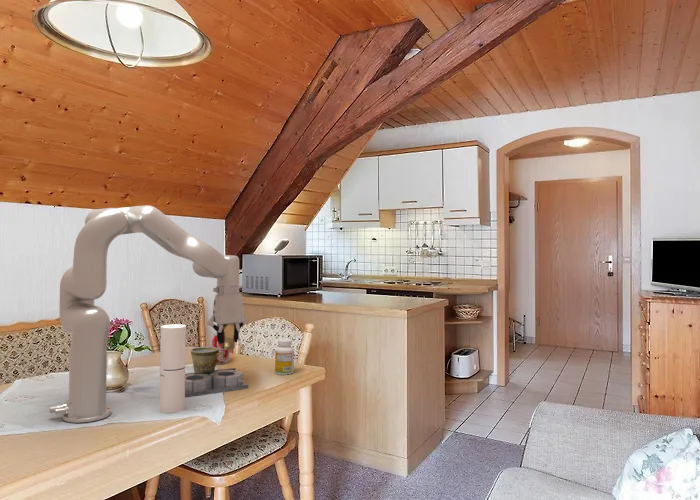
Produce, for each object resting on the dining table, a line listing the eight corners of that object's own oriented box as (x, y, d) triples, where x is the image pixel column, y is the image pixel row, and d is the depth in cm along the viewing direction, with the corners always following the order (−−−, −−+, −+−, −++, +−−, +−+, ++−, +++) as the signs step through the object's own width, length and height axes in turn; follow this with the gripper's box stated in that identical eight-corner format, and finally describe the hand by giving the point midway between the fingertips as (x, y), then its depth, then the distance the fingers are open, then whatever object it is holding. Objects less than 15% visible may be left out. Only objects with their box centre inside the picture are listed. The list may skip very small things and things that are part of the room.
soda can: (232, 362, 212) (233, 333, 212) (220, 365, 206) (220, 336, 206) (220, 360, 216) (221, 331, 216) (207, 363, 210) (208, 334, 210)
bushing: (223, 350, 175) (223, 321, 175) (219, 347, 179) (219, 319, 179) (236, 348, 178) (236, 320, 177) (231, 346, 182) (232, 318, 181)
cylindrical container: (176, 414, 148) (178, 328, 148) (154, 412, 150) (155, 327, 149) (188, 406, 155) (190, 324, 155) (167, 404, 157) (169, 323, 156)
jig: (183, 397, 164) (183, 384, 164) (172, 387, 175) (173, 375, 175) (247, 388, 176) (248, 376, 176) (234, 379, 187) (234, 367, 187)
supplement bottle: (280, 369, 202) (281, 337, 202) (296, 371, 199) (297, 339, 199) (271, 374, 195) (272, 340, 195) (287, 376, 193) (288, 342, 193)
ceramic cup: (185, 378, 187) (185, 351, 187) (199, 371, 196) (199, 345, 196) (217, 381, 184) (217, 353, 183) (230, 374, 193) (230, 348, 193)
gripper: (207, 292, 170) (207, 347, 171) (255, 290, 179) (254, 341, 180) (200, 290, 176) (200, 343, 177) (246, 288, 186) (246, 338, 186)
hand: (227, 341), depth 178 cm, fingers closed on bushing, 4 cm apart
